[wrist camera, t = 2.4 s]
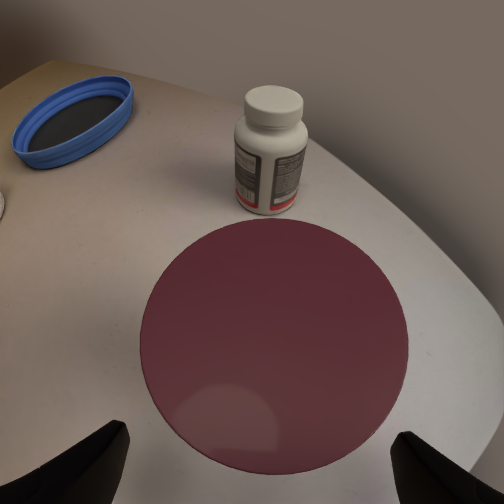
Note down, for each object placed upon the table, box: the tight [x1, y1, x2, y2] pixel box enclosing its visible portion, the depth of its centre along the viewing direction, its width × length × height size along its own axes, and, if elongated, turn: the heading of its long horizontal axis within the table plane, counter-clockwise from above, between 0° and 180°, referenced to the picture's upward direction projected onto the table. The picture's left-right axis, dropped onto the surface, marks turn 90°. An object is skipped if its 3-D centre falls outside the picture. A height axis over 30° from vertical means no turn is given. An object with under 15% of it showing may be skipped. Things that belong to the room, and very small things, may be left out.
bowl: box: [11, 75, 133, 169], centre depth 31 cm, size 18×18×4 cm
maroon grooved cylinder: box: [140, 218, 408, 475], centre depth 12 cm, size 7×7×13 cm
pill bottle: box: [234, 86, 308, 215], centre depth 22 cm, size 5×5×10 cm
